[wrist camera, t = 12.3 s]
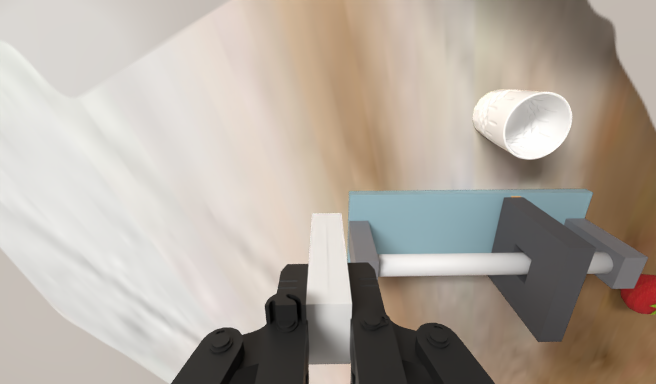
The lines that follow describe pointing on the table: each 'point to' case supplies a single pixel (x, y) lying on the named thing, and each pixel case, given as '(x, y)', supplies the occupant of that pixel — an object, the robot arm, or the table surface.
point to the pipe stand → (470, 233)
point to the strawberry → (642, 295)
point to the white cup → (523, 121)
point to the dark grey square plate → (541, 267)
